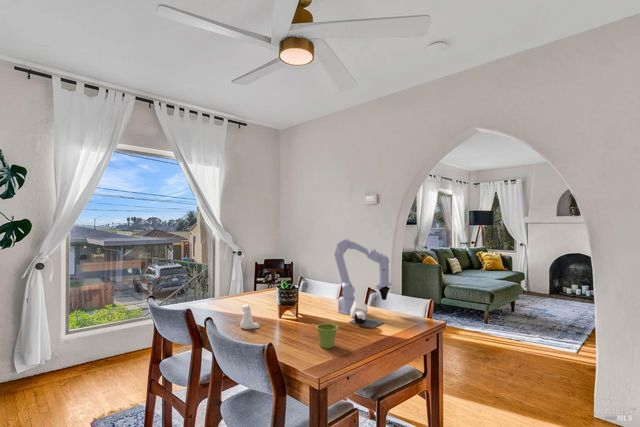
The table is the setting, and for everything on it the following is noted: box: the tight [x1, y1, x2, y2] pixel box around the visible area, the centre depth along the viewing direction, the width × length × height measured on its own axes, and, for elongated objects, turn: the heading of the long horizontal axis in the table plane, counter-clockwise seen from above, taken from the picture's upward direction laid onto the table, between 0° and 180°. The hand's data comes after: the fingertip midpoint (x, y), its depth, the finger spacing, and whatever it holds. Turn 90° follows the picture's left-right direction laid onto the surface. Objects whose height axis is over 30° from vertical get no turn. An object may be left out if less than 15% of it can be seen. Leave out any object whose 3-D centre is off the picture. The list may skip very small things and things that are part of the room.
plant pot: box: [316, 323, 339, 349], centre depth 153 cm, size 9×9×9 cm
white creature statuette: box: [239, 303, 260, 330], centre depth 180 cm, size 10×9×12 cm
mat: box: [348, 317, 385, 329], centre depth 188 cm, size 15×12×1 cm
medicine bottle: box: [350, 300, 369, 324], centre depth 187 cm, size 7×7×12 cm
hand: (384, 299), depth 204 cm, fingers closed
